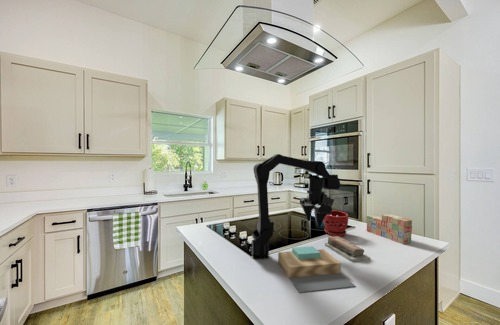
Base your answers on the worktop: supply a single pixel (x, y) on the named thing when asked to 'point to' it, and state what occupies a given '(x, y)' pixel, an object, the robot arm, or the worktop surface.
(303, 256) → the teal rectangular block
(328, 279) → the mat
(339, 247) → the packaged product
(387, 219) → the stack of blocks
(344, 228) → the plant pot
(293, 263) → the board
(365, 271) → the worktop surface
